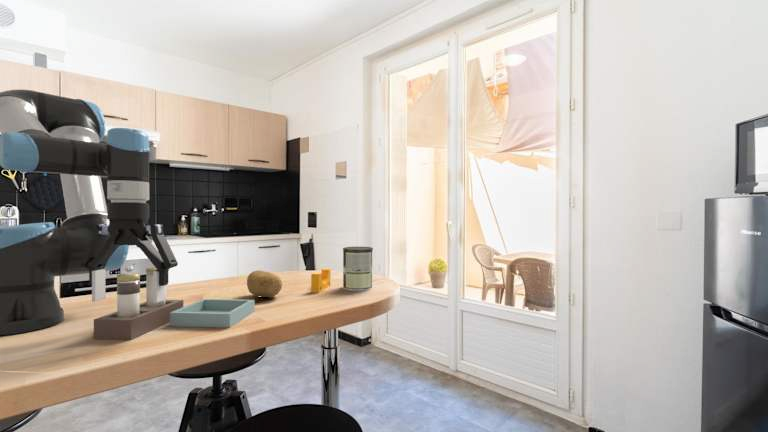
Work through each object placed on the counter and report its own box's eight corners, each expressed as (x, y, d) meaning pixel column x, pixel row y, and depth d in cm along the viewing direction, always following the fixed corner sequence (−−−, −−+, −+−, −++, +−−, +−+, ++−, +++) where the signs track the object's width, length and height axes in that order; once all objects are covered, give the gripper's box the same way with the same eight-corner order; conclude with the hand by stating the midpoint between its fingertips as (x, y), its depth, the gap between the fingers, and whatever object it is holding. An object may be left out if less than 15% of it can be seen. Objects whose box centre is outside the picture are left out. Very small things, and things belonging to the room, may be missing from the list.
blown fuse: (112, 332, 80) (112, 276, 80) (126, 327, 84) (126, 272, 84) (130, 333, 79) (130, 276, 79) (144, 327, 83) (144, 273, 83)
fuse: (141, 320, 89) (142, 269, 89) (153, 316, 93) (153, 267, 93) (158, 321, 88) (158, 269, 88) (169, 316, 92) (169, 267, 92)
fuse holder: (93, 338, 77) (93, 319, 77) (152, 315, 95) (152, 299, 95) (131, 339, 77) (131, 320, 77) (183, 316, 95) (183, 300, 95)
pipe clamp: (318, 286, 135) (318, 268, 135) (330, 287, 134) (330, 268, 134) (306, 293, 123) (306, 273, 123) (318, 294, 122) (318, 274, 122)
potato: (259, 304, 107) (259, 276, 107) (239, 296, 118) (239, 270, 118) (290, 299, 114) (290, 272, 114) (269, 292, 124) (269, 267, 124)
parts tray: (169, 326, 86) (169, 312, 86) (202, 310, 100) (202, 298, 100) (229, 327, 85) (229, 314, 85) (254, 311, 99) (254, 299, 99)
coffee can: (337, 288, 132) (337, 247, 132) (361, 284, 138) (361, 246, 138) (354, 292, 124) (354, 249, 124) (378, 289, 130) (378, 248, 130)
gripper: (57, 201, 78) (58, 303, 78) (174, 201, 77) (174, 305, 77) (88, 202, 86) (88, 296, 86) (194, 202, 84) (194, 297, 84)
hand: (128, 300), depth 81 cm, fingers open, 13 cm apart
